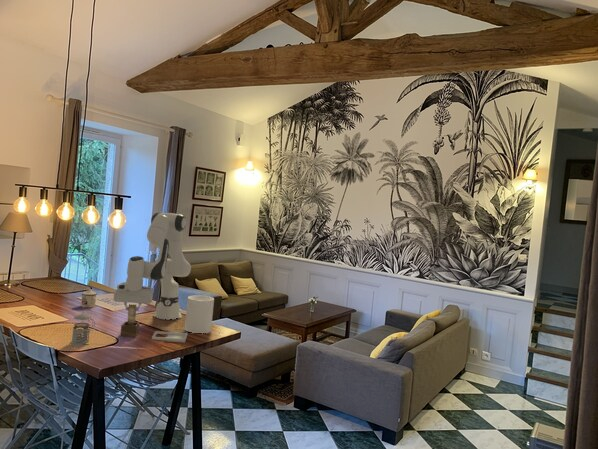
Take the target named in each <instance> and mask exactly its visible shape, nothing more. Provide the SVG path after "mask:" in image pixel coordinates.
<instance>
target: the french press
mask: <svg viewBox="0 0 598 449" xmlns="http://www.w3.org/2000/svg"><path fill="white" fill-rule="evenodd" d="M82 297H83V298H84V299H85V298H86V295H83V296H82V295H81V298H82ZM84 308H85V307H84V305H83V307H82V311H84ZM73 319H75V320H77V321H78V320H80V321H81V322H78V323H77V322H76V323H75V324H74V325H73V328H72V337H71V338H72V340H71V342H70V341H69V345H70V344H71V345H70V346H72V345H73V347H86V346H89V344H88V343H89V339H90V333H92V332H93V331H94V329H95V327H96V322H95V320H94V319H93V318H92V315H89V314H88V313H84V312H82V313H78V314H75V315H74V316H73ZM85 320H87V321H88V322H90V321H92V323H93V324H92V326H90V323H88V322H83V321H85ZM90 327H91V328H90Z"/></svg>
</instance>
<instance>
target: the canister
mask: <svg viewBox="0 0 598 449" xmlns="http://www.w3.org/2000/svg"><path fill="white" fill-rule="evenodd" d="M186 301H187V302H186V304H187V305H186V312H185V321H184V331H185V330H186V331H189V332H192V333H191V334H193V333H202V334H201V335H204V334H203V333H206V334H210V333H211V331H212V327H213V326H212V323H213V314H214V305H215V304H214V303H215V298H214V297H212V296H208V295H201V294H200V295H199V294H198V295H197V294H195V295H189V296H188V297H187V300H186ZM186 331H185V332H186Z"/></svg>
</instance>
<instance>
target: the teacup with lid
mask: <svg viewBox="0 0 598 449" xmlns="http://www.w3.org/2000/svg"><path fill="white" fill-rule="evenodd" d="M83 295H86V298H85V299H84V298H83V297H82V296H83ZM96 300H97V293H96V291H93V290H92V288H89V289H87V290H86V291H83V292H82V293H81V304H80V307H81V308H83V305H84V308H86V307H87V309H88V308H94V307H96Z"/></svg>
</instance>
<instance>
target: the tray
mask: <svg viewBox="0 0 598 449" xmlns="http://www.w3.org/2000/svg"><path fill="white" fill-rule="evenodd" d="M188 334H189V333H188V332H177V331H163V330H162V331H160V330H155V331H154V332H153V334H152V336H151V340H154V341H155V340H158V341H164V342H167V343H169V342H170V343H186V341H187V338H188ZM157 335H166V336H164V337H163V336H157Z"/></svg>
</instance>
